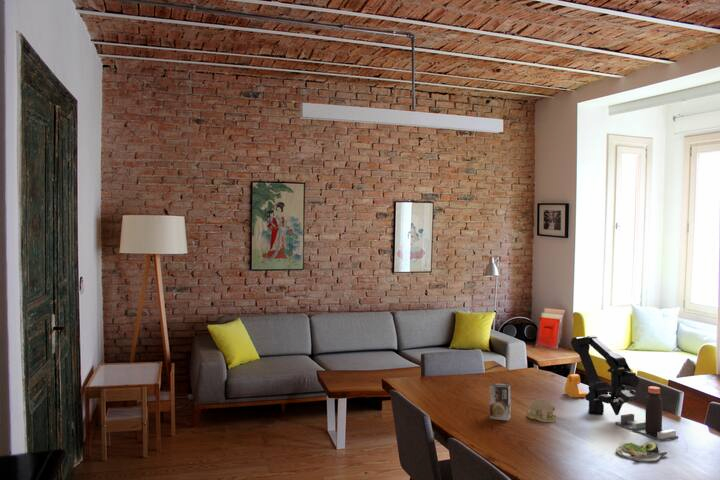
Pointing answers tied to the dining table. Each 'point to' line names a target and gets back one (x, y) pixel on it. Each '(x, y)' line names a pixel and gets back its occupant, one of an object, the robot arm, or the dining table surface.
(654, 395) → the vinegar
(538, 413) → the ceramic model
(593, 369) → the robot arm
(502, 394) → the coffee box
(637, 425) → the sliding jaw
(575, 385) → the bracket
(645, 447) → the salad plate
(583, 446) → the dining table surface
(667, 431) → the vise
